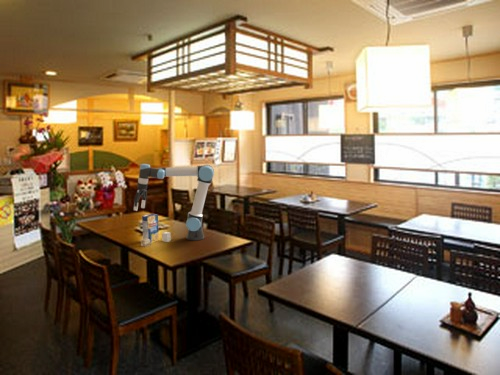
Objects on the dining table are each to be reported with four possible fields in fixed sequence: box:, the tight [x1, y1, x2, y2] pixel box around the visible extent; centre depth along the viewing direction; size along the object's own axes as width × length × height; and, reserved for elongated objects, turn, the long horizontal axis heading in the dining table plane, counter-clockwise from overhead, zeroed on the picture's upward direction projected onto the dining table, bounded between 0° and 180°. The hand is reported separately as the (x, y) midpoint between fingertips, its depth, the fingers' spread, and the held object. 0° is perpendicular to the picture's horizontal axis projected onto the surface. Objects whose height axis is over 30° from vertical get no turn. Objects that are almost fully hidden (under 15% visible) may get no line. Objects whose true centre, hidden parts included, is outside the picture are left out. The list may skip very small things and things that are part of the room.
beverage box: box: [141, 213, 160, 244], centre depth 305 cm, size 7×11×22 cm, turn 146°
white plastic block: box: [161, 231, 172, 243], centre depth 307 cm, size 5×5×7 cm
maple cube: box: [140, 238, 151, 248], centre depth 293 cm, size 5×5×5 cm
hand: (139, 209), depth 295 cm, fingers open, 13 cm apart
